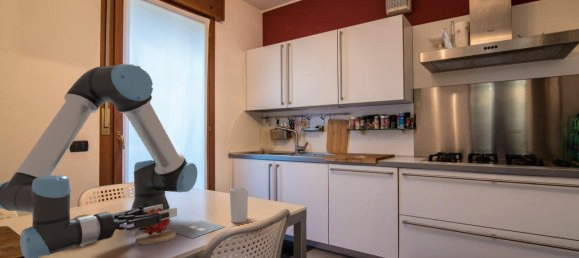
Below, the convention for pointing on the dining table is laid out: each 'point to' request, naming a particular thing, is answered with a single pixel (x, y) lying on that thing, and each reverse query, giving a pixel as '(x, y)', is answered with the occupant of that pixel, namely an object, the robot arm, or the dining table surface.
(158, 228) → the dragon fruit
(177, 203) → the dining table surface
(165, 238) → the coaster
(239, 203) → the mug
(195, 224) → the grey square tile
